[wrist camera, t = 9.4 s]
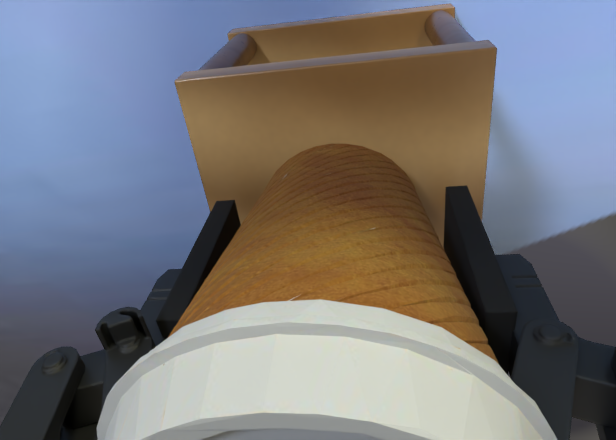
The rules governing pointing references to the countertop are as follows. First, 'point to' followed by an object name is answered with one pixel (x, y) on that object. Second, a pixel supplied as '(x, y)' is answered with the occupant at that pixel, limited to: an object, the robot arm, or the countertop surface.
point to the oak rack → (345, 102)
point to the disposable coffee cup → (326, 326)
